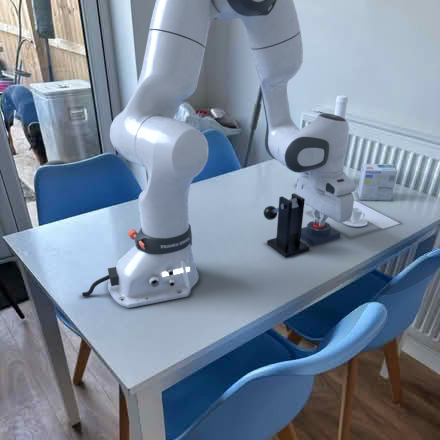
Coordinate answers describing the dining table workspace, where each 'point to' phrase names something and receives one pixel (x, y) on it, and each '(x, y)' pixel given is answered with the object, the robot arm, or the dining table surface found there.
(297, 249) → the switch bracket
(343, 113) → the bottle
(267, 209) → the lever
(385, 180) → the light bulb box
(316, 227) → the button
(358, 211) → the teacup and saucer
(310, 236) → the button housing
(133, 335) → the dining table surface
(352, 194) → the robot arm
